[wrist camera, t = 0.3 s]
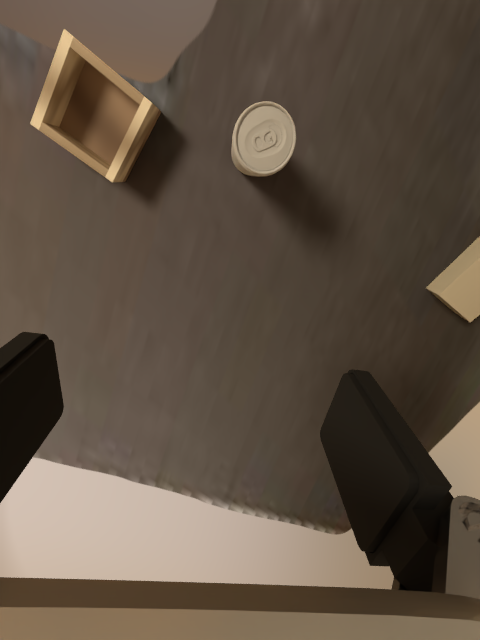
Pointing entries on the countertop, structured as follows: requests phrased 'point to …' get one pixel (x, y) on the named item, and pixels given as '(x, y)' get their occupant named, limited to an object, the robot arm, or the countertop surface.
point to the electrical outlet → (461, 284)
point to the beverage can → (263, 139)
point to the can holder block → (93, 111)
